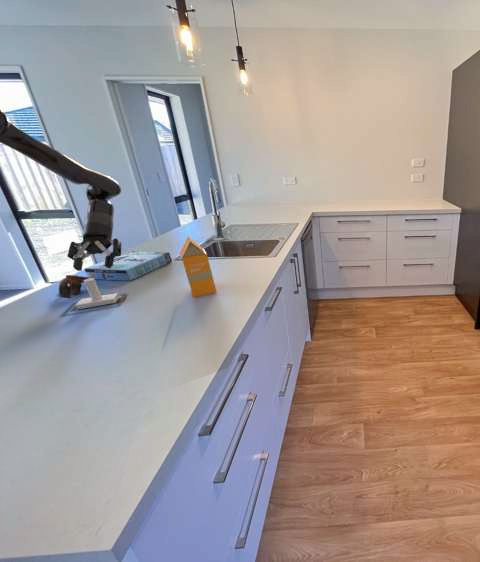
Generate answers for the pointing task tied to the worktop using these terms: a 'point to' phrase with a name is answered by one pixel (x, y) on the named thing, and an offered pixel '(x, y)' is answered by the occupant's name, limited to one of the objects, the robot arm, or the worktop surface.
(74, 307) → the picture frame
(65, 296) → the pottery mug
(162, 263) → the gum box
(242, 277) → the worktop surface
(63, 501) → the worktop surface
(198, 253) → the orange juice
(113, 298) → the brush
